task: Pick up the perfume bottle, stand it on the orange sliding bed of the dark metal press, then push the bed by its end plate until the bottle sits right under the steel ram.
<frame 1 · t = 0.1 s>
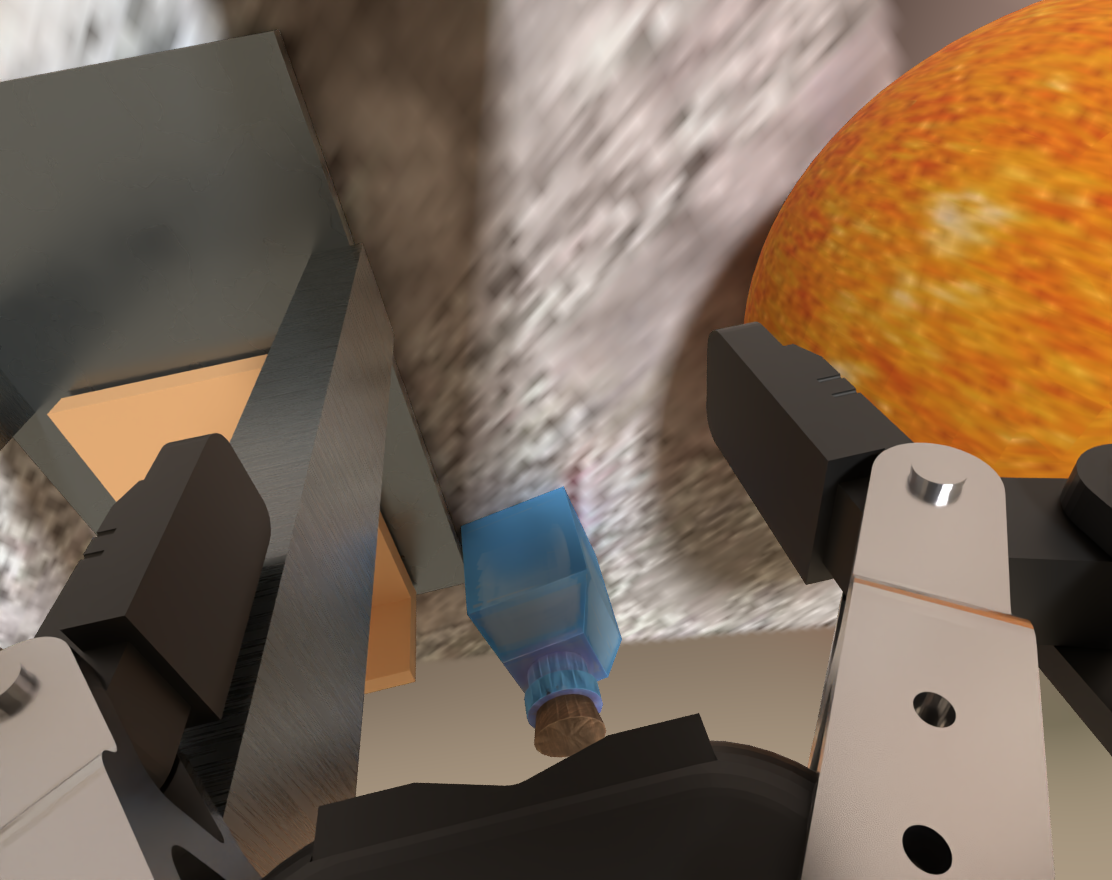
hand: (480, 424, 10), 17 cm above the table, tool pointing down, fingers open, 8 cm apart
press bed carriage: (256, 554, 28), point 4 cm above the table, slide at 9.0 cm
press frame: (176, 325, 25), on the table
decorative sphere: (874, 240, 29), on the table
perfume bottle: (530, 538, 36), on the table
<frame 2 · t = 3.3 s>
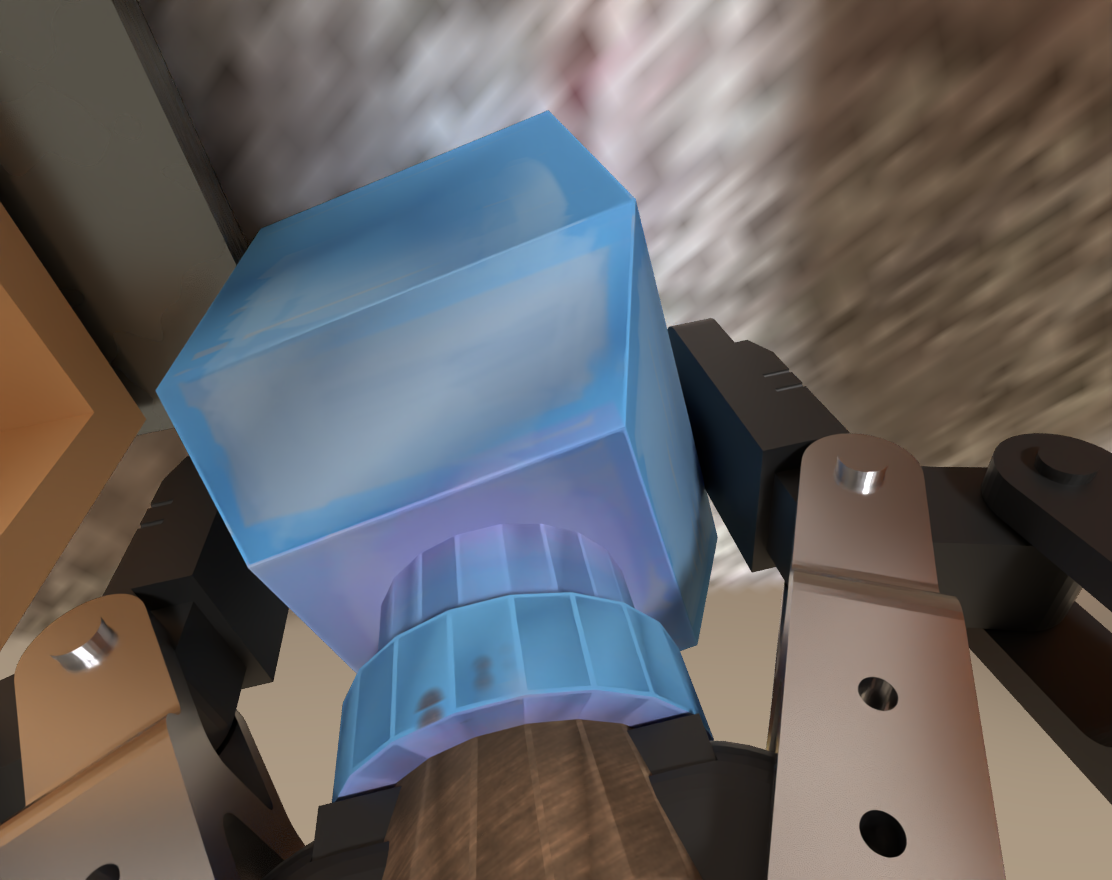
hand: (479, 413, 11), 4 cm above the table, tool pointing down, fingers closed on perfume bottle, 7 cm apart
perfume bottle: (464, 301, 14), on the table, touching gripper
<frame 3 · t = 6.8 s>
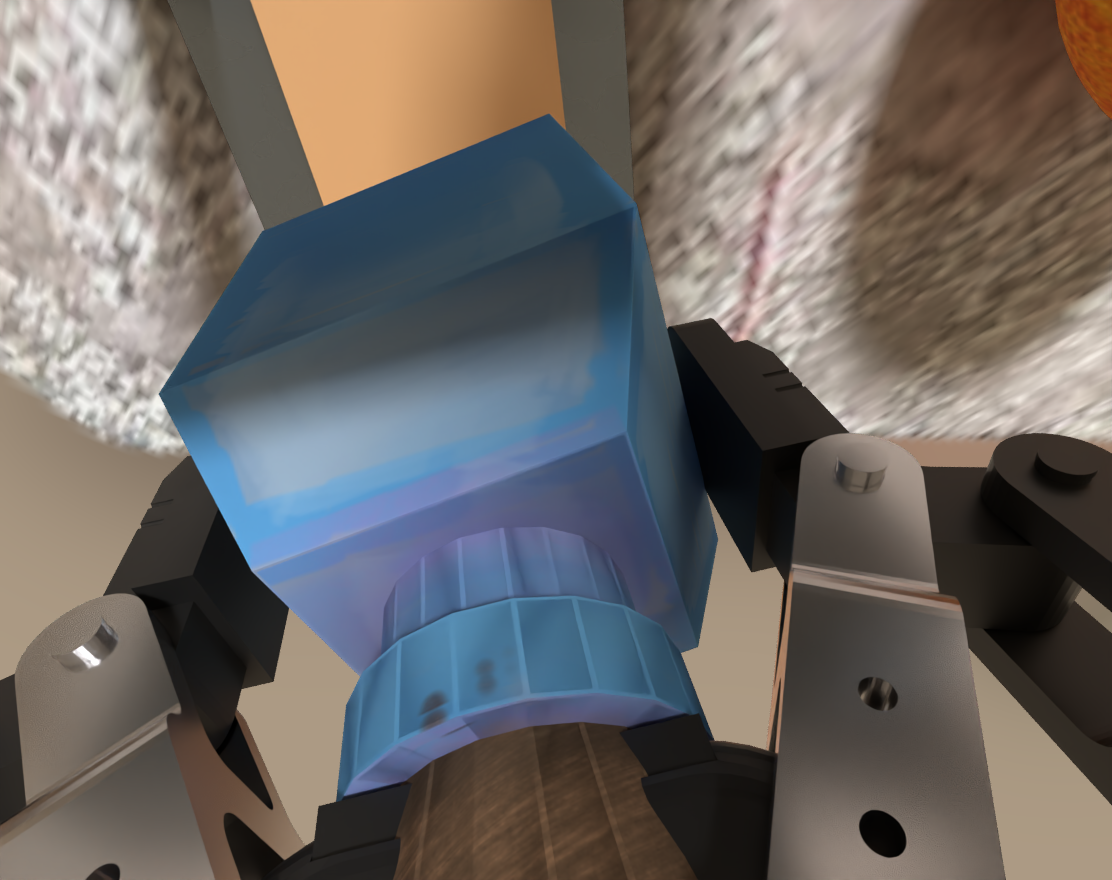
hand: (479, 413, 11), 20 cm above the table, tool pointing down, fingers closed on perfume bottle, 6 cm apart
press bed carriage: (450, 196, 24), point 4 cm above the table, slide at 9.0 cm
perfume bottle: (465, 303, 14), point 15 cm above the table, touching gripper
when the fingers open (8 cm above the table, at t = 9.4 s): perfume bottle drops 1 cm, resting on press bed carriage.
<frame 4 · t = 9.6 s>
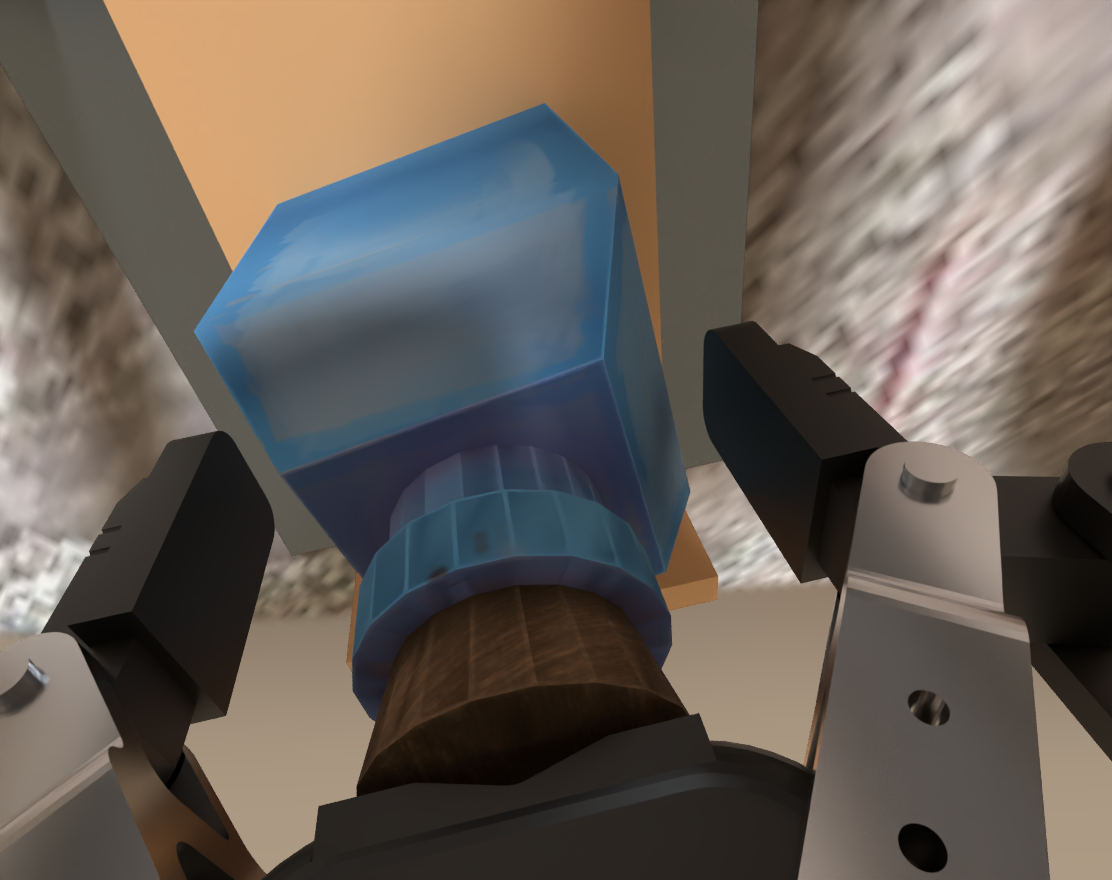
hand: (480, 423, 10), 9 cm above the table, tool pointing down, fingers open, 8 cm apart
press bed carriage: (470, 333, 14), point 4 cm above the table, slide at 9.0 cm, touching perfume bottle
perfume bottle: (463, 279, 15), point 2 cm above the table, touching press bed carriage
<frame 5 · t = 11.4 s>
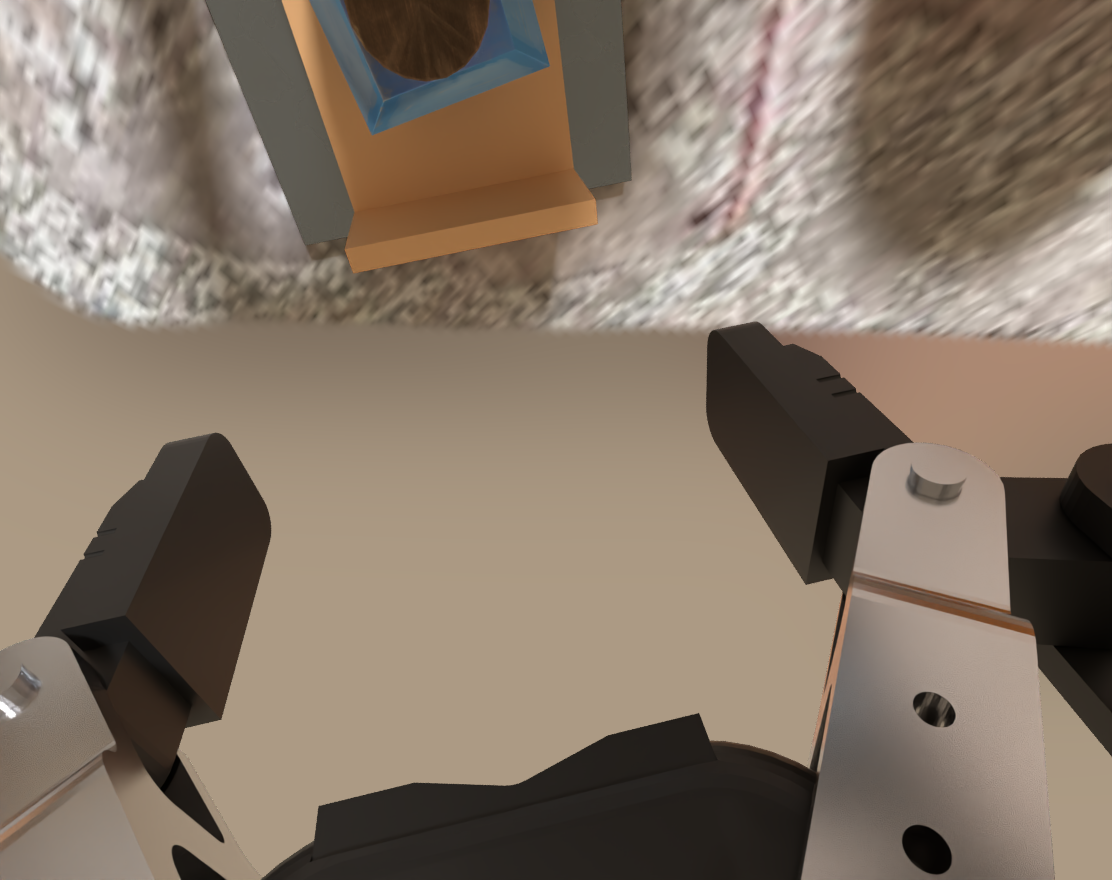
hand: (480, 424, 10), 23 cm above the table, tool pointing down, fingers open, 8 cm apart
press bed carriage: (422, 3, 22), point 4 cm above the table, slide at 9.0 cm, touching perfume bottle
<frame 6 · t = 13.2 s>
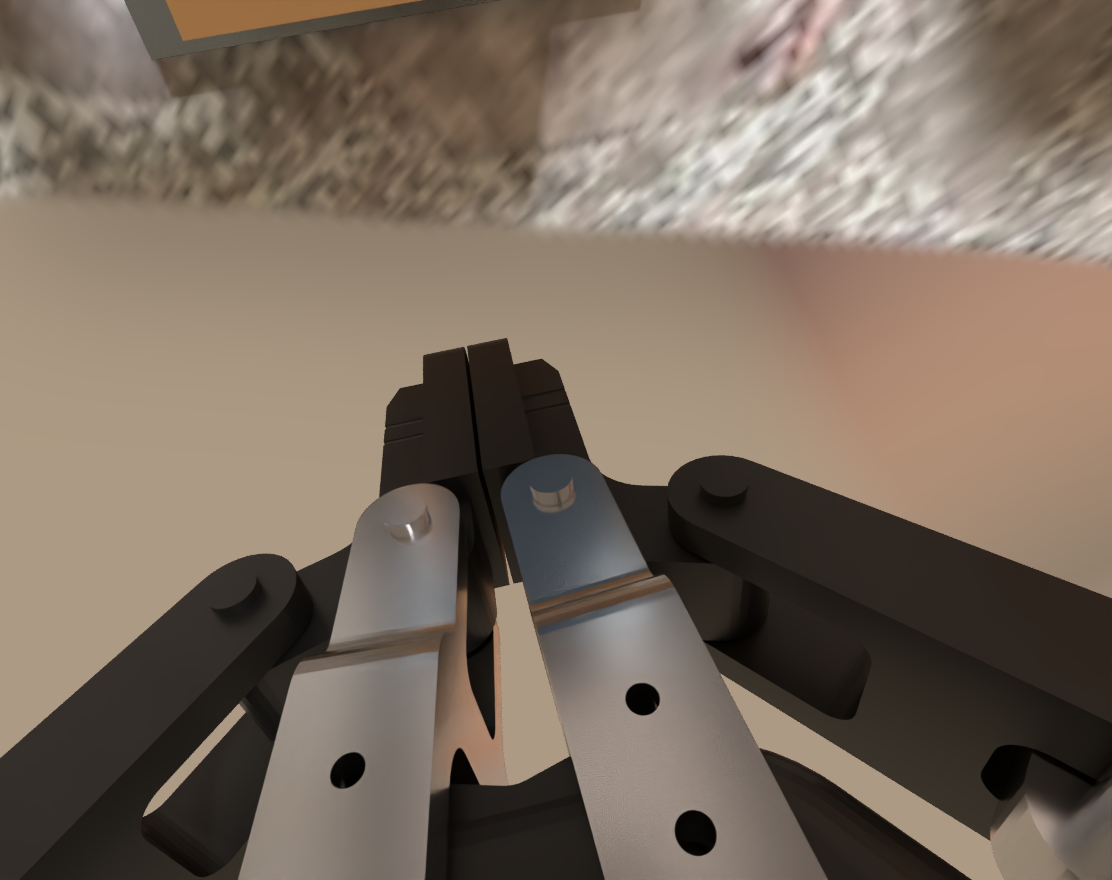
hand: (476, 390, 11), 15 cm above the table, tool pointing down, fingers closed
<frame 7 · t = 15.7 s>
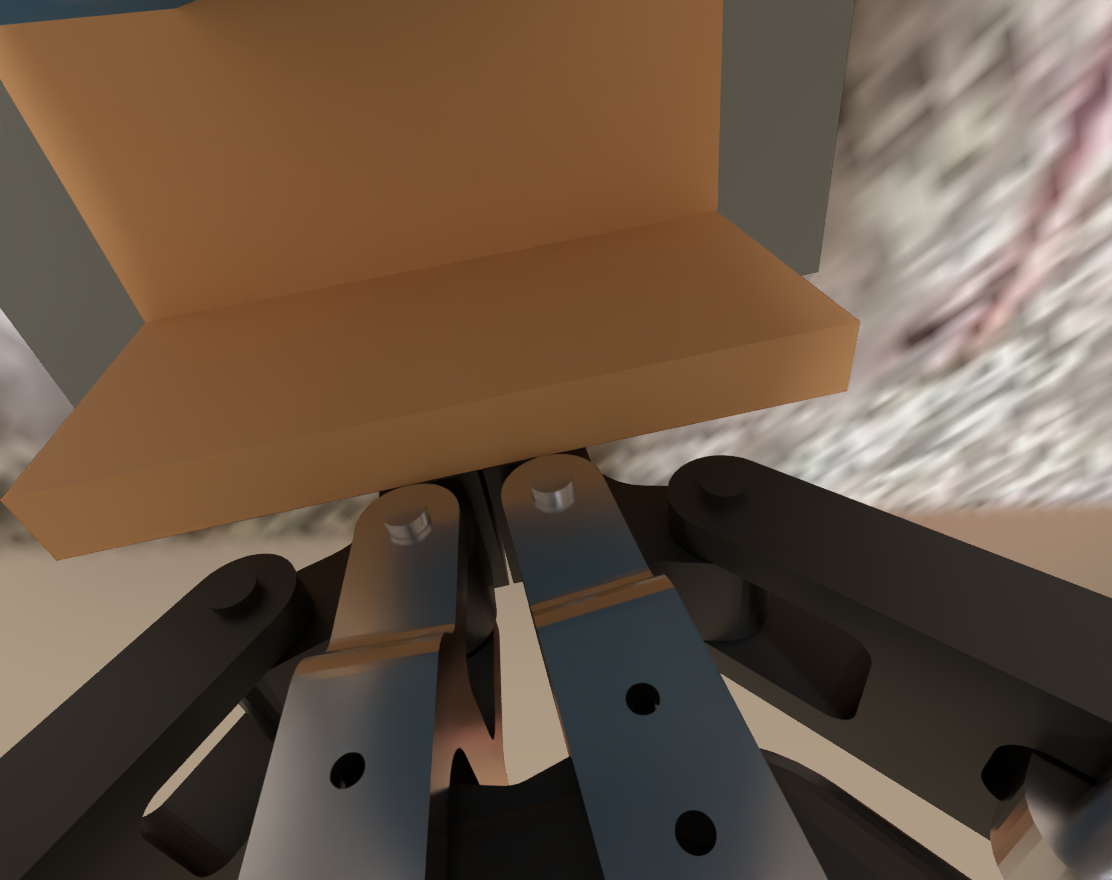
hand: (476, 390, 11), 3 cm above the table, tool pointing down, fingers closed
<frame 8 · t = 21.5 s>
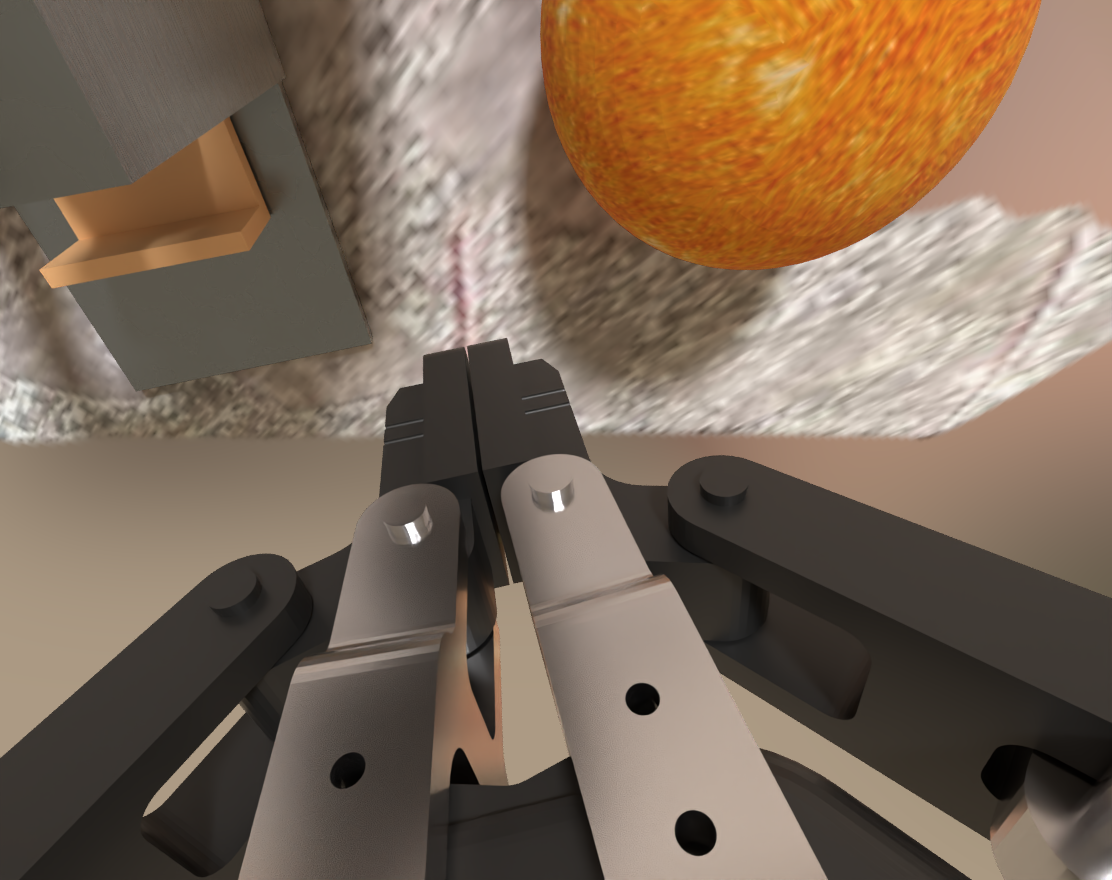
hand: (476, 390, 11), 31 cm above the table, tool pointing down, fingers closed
press bed carriage: (81, 85, 29), point 4 cm above the table, slide at 0.2 cm, touching perfume bottle
press frame: (109, 60, 32), on the table
decorative sphere: (686, 25, 36), on the table
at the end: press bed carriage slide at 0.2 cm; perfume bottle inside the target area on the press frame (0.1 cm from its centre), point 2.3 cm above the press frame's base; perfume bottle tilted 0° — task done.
